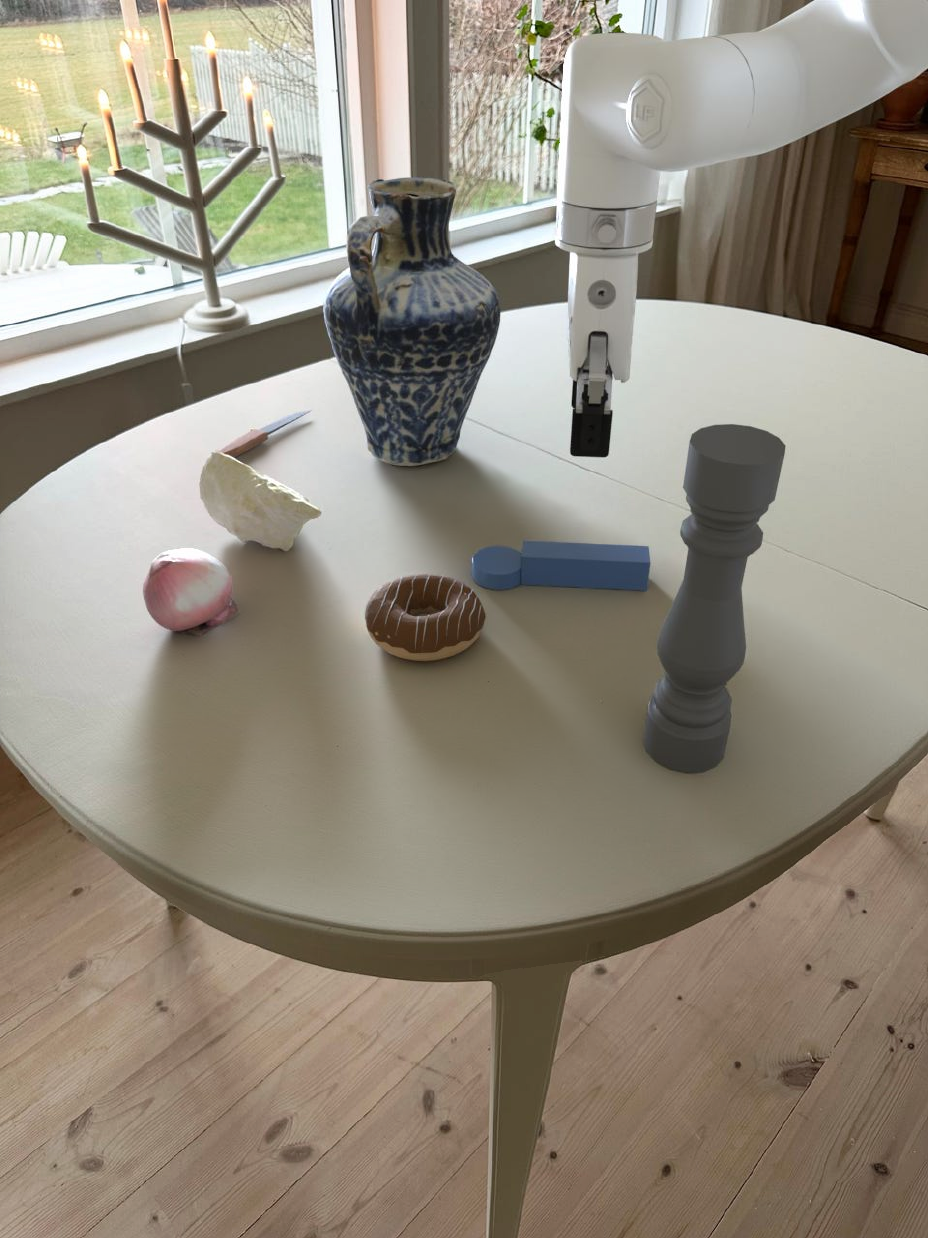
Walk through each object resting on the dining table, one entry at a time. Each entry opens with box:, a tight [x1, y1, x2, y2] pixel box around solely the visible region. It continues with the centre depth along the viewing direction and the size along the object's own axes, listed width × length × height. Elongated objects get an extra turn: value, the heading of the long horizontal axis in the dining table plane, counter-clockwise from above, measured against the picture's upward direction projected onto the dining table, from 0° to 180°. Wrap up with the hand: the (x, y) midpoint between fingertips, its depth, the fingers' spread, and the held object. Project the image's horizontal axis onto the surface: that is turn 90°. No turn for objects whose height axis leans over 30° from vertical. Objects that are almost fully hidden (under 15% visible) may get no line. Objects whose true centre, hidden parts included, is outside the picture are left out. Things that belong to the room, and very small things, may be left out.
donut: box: [364, 573, 487, 662], centre depth 81 cm, size 11×11×4 cm
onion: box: [142, 547, 241, 637], centre depth 82 cm, size 8×8×7 cm
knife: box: [210, 410, 313, 458], centre depth 115 cm, size 17×1×3 cm
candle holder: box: [642, 423, 786, 774], centre depth 63 cm, size 6×6×25 cm
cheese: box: [198, 450, 322, 552], centre depth 94 cm, size 15×7×15 cm
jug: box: [322, 176, 501, 467], centre depth 103 cm, size 21×19×30 cm
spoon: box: [471, 540, 651, 592], centre depth 88 cm, size 17×5×3 cm, turn 84°
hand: (588, 430), depth 81 cm, fingers open, 9 cm apart
